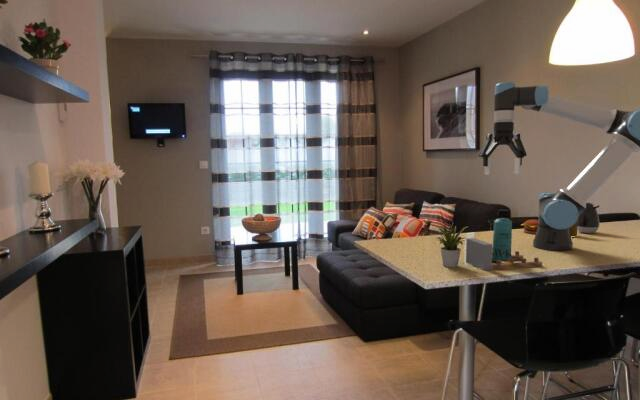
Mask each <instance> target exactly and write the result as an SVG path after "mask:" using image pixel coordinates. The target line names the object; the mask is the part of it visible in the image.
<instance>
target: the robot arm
mask: <svg viewBox="0 0 640 400" xmlns="http://www.w3.org/2000/svg"><path fill="white" fill-rule="evenodd" d="M493 105H494V107H493V108H494V109H493V111H494V112H493V113H494V114H493V121H494V123H493V133H487V134H486V136H485V137H486V138H485V141H484V143H483V145H482V147H481V150H480V151H479V154H478V157H480V158H482V166H483V167H484V175H486V176H487V175H488V176H489V175H491V158H490V156H491V155H492V154H493V153H494V151H495V150H496V148H497V147H498V146H508V147H509V149H510V150H511V151H512V153H513V155H514V156H515V157H514V168H513V169H514V170H513V174H514V175H520V174H521V166H522V165H523V159H524V157H527V151H526V149H525V146H524V144H523V142H522V139H521V134H520V133H514V131H515V130H514V129H515V127H514V125H515V122H514V120H515V107H521V108H522V109H524V110H531V111H535V112H538V113H542V114H546V115H550V116H554V117H557V118H560V119H564V120H567V121H572V122H575V123H579V124H582V125H586V126H590V127H592V128H597V129H600V130H603V133H605V134H608V135H611V136H612V138H611V140H609V142H608V143H607V144H606V145H605V146H604V147H603V148H602V149H601V150H600V151H599V152H598V154H596V156H595V157H594V158H592V160H591V161H590V162H589V163H588V164H587V165H586V166H585V168H584V169H582V170H581V172H579V174H578V175H577V176H576V177H575V178H574V179H573V180H572V181H571V182H570V184H569V185H567V187H566V188H559V190H557V191H556V193H555V192H554V193H553V192H552V193H551V192H550V193H549V192H547V193H546V192H544V193H540V195H539V198H538V230H537V233H536V234H534V238H533V239H532V240H533V241H532V246H533V247H534V248H537V249H542V250H548V251H571V250H573V249H572V248H574V243H573V240H572V239H573V238H571V236H570V232H569V227H571V226H573V225H574V224H575V223H576V221H577V219H578V216H579V215H580V214H581V213H582V212H583V211H584V210H585V208H586V203H587V202H588V201H589V199H590V198H591V197H592V196H593V195H594V194H595V193H596V192H598V190H599V189H600V188H601V187H602V186H603V185H604V184H606V181H608V180H609V179H610V177H612V175H614V173H615V172H616V171H617V170H618V169H619V168H620V167H622V165H624V163H625V162H626V161H627V160H628V159H629V158H630V157H631V156H632V155H633V154H634V153H637V152H640V108H638V109H636V110H631V111H627V110H620V109H616V108H615V109H612V110H609V109H608V110H607V109H605V108H601V107H597V106H592V105H590V104H585V103H583V102H578V101H574V100H570V99H566V98H562V97H559V96H554V95H551V94H549V87H548V85H533V86H516V82H514V81H504V82H499V83H496V84H495V87H494V104H493ZM493 139H494V140H493ZM492 140H493V141H492ZM513 140H514V141H513ZM570 249H571V250H570Z"/></svg>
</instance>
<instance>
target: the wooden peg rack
mask: <svg viewBox="0 0 640 400" xmlns="http://www.w3.org/2000/svg"><path fill="white" fill-rule="evenodd" d="M539 259H540V258H539V257H533V261H527V258H524V255H522V254H520V251H518V250H517V251H515V254H513V255H512V254H511V259H509V261H508V262H511V264H509V265H503V264H501V262H502V261H500V260H493V258H492V262H496V263H492V270H493V271H494V270H509V268H510V269H521V268H535V267H543V261H541V260H540V261H539ZM515 261H521V262H515Z"/></svg>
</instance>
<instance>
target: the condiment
mask: <svg viewBox="0 0 640 400" xmlns="http://www.w3.org/2000/svg"><path fill="white" fill-rule="evenodd" d="M577 226H578V219H577V221H576V223H575V224H574V225H573V226H571V227H569V232H570V236H577V235H578V229H577Z"/></svg>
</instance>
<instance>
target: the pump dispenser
mask: <svg viewBox="0 0 640 400" xmlns="http://www.w3.org/2000/svg"><path fill="white" fill-rule="evenodd" d="M599 208H600V205H599V204H598V205H594V204H593V203H591V202H586V208H585V210H584V211H583V212H582V213H581V214H580V215H579V216H578V226H577V232H580V233H581V232H584V233H583V234H586V233H592V234H595V233H596V232H597V231H598V230H599V228H600V218H599V213H598V210H597V209H599Z"/></svg>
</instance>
